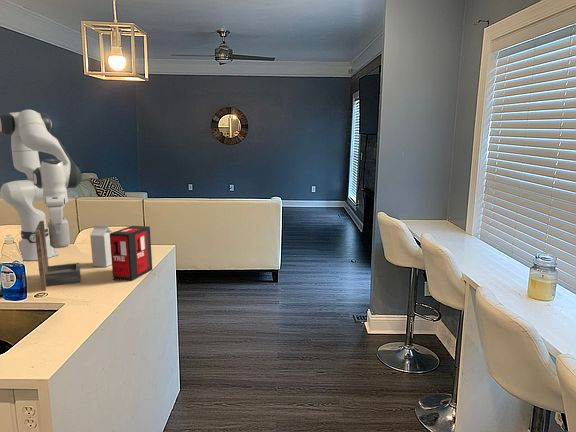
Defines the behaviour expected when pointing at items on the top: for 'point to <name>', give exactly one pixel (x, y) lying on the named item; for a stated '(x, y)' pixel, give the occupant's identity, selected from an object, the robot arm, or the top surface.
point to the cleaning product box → (131, 252)
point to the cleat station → (53, 273)
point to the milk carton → (101, 246)
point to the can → (59, 235)
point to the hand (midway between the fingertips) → (58, 231)
